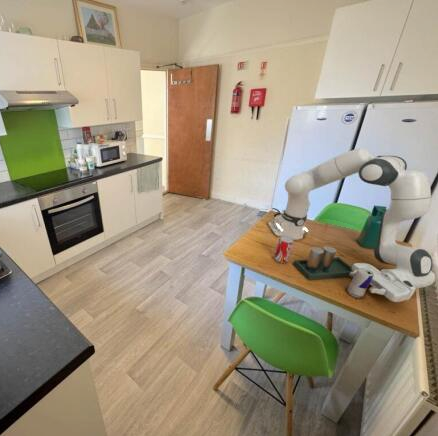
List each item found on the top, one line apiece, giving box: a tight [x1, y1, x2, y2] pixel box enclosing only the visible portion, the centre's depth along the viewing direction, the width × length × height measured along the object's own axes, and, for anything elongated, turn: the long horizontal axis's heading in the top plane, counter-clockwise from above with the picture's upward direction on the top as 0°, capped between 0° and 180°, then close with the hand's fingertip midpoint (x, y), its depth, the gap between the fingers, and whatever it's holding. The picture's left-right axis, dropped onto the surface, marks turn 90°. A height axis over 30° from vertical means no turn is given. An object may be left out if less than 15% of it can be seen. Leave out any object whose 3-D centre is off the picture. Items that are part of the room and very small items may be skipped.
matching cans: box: [305, 245, 337, 273], centre depth 114 cm, size 5×11×12 cm, turn 94°
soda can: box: [273, 236, 295, 264], centre depth 122 cm, size 7×7×13 cm
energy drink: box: [346, 268, 374, 299], centre depth 101 cm, size 5×5×12 cm
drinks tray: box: [293, 256, 353, 281], centre depth 117 cm, size 12×24×2 cm, turn 94°
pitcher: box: [357, 205, 387, 250], centre depth 130 cm, size 10×8×22 cm
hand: (360, 282), depth 100 cm, fingers open, 8 cm apart
